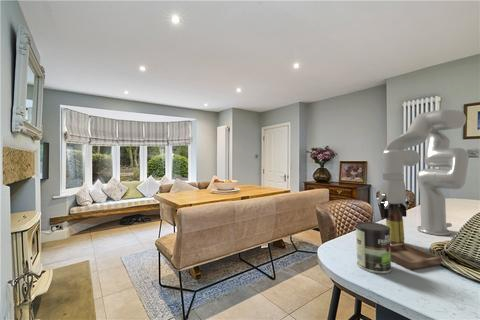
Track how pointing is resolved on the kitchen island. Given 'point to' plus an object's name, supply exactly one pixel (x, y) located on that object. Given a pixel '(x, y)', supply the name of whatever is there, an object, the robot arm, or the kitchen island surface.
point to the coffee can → (373, 247)
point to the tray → (413, 257)
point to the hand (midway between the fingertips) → (393, 216)
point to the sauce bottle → (395, 224)
